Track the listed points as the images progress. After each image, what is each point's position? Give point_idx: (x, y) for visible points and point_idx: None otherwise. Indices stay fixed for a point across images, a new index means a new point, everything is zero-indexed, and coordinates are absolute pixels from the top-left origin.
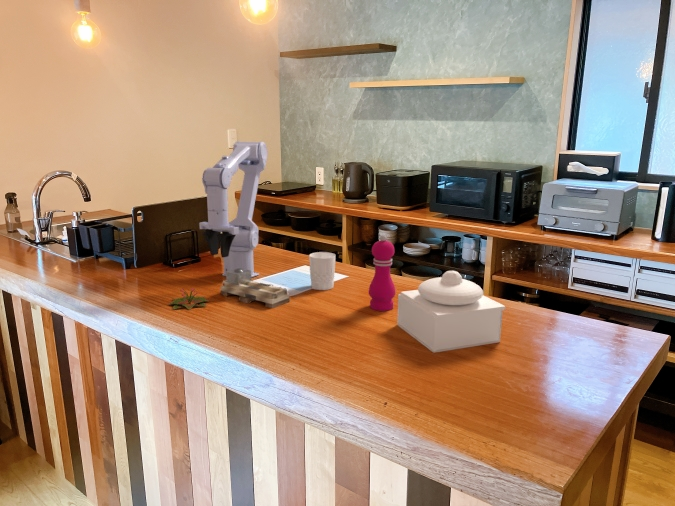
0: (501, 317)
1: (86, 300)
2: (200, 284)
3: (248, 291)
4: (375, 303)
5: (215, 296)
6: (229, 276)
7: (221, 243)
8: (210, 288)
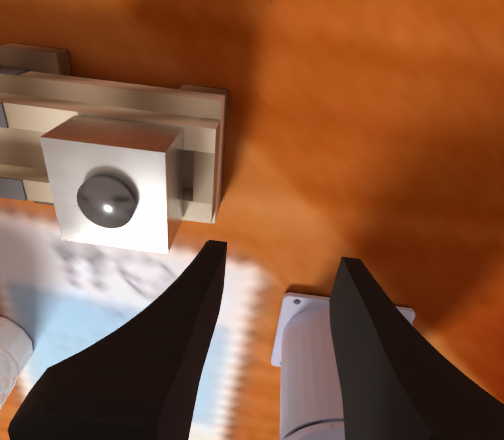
0: None
1: None
2: (442, 172)
3: (11, 95)
4: None
5: (230, 47)
6: (142, 138)
7: (155, 321)
8: (348, 144)
